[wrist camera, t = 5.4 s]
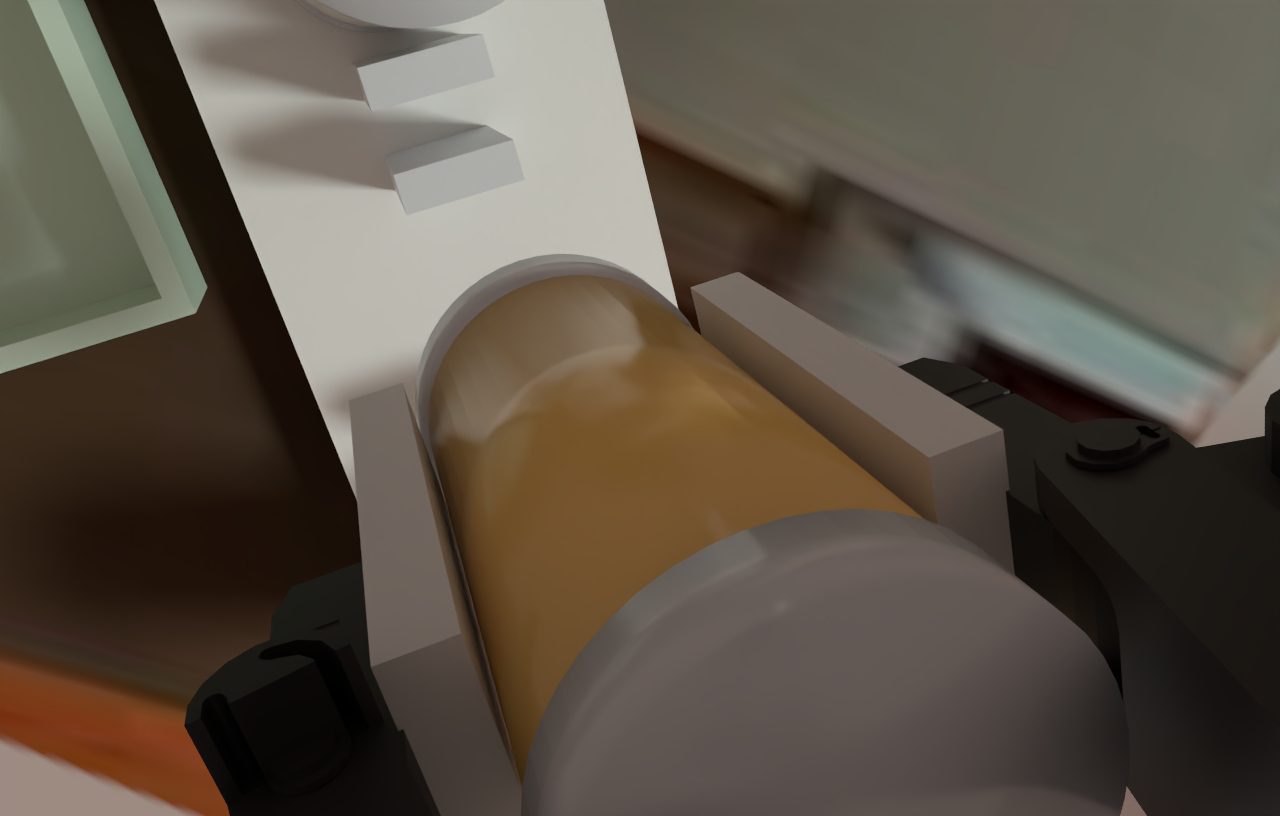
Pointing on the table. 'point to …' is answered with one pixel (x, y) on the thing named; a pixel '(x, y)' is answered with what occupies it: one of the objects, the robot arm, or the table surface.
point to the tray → (78, 196)
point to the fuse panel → (413, 167)
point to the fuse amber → (729, 586)
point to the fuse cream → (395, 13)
